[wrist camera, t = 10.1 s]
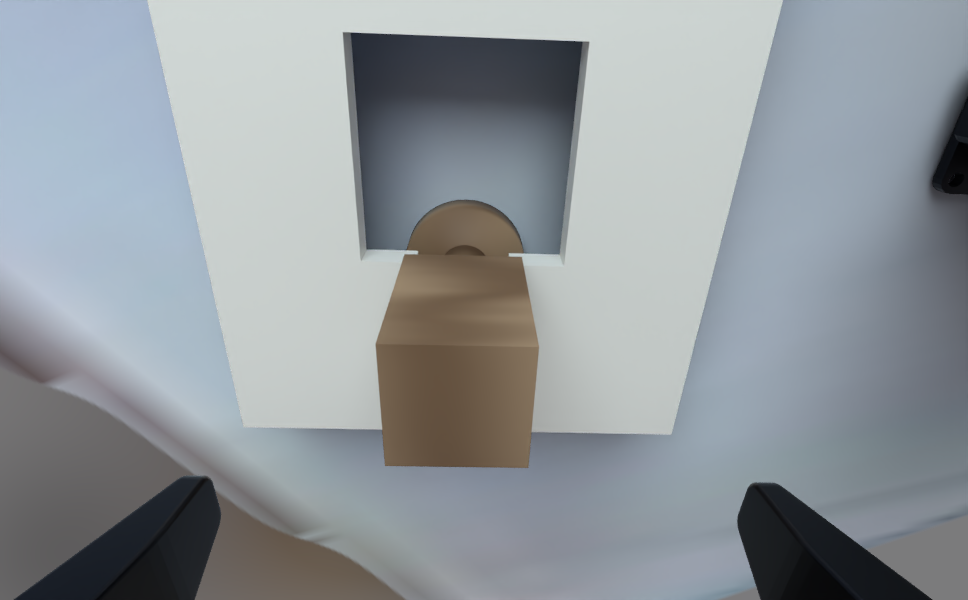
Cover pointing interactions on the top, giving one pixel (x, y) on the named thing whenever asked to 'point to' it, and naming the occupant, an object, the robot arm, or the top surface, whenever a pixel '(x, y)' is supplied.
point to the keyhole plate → (372, 273)
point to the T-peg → (459, 345)
